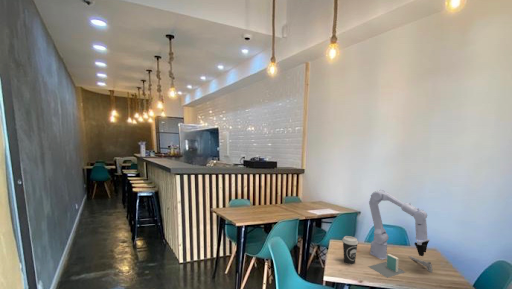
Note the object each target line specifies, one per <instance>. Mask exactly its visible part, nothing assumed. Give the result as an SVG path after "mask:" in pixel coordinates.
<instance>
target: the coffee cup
mask: <svg viewBox="0 0 512 289" xmlns="http://www.w3.org/2000/svg"><path fill="white" fill-rule="evenodd" d="M341 241H342V247H343V262H344V263H345V264H347V265H355V264H356V257H357V250H358V245H359V241H358V239H357V237H354V236H349V235H345V236H344V237H343V238H342V240H341Z"/></svg>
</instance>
